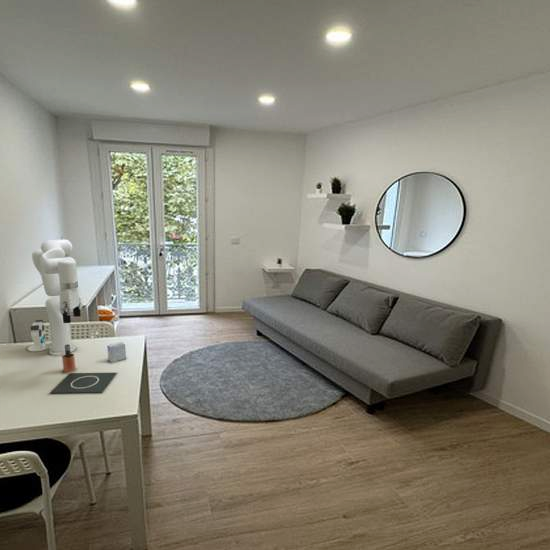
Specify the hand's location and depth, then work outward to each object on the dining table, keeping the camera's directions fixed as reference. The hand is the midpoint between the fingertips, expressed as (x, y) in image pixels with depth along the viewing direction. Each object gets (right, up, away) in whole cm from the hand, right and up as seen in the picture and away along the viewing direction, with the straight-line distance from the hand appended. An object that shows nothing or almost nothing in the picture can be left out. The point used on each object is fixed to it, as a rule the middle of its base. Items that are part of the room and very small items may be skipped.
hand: (72, 319), depth 173 cm
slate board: (+10, -29, -8) cm, 32 cm away
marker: (-4, -26, +4) cm, 26 cm away
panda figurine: (-36, -20, +30) cm, 51 cm away
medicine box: (+14, -24, +17) cm, 33 cm away
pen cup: (-4, -26, +4) cm, 27 cm away
